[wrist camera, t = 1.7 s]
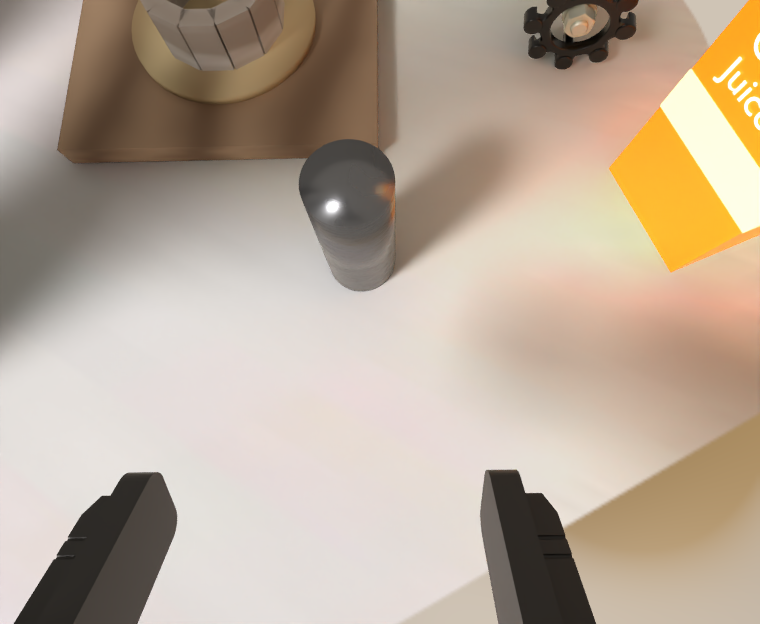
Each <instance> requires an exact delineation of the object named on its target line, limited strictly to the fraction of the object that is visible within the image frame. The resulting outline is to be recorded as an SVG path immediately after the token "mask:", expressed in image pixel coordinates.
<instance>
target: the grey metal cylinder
mask: <svg viewBox="0 0 760 624" xmlns="http://www.w3.org/2000/svg"><path fill="white" fill-rule="evenodd" d="M299 191H300V195H301V198H302V201H303V203H304V206H305V208H306V211H307V213H308V216H309V218H310V221H311V223H312V225H313V228H314V230H315V233H316V235H317V238H318V240H319V242H320V245H321V247H322V250H323V252H324V255H325V257H326V260H327V262H328V264H329V267H330V269H331V272H332V274H333V276H334V277H335V279H336V280H337V281H338V282H339V283H340V284H341V285H343V286H344V287H346V288H348V289H351V290H354V291H369V290H373V289H375V288H377V287H379V286H381V285H382V284H383V283H385V282H386V281H387V279H388V278H389V277H390V275H391V273H392V271H393V269H394V264H395V175H394V171H393V168H392V165H391V163H390V161H389V160H388V158H387V157H386V156H385V154H384V153H383V152H382V151H381V150H379V149H378V148H377V147H375V146H373V145H372V144H369V143H367V142H364V141H361V140H355V139H342V140H336V141H333V142H330V143H327V144H325V145H323V146H322V147H320V148H318V149H317V150H316V151H315V152H313V153H312V154H311V155H310V156H309V158H308V159H307V160H306V162H305V164H304V165H303V168H302V170H301V173H300V177H299Z"/></svg>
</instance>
